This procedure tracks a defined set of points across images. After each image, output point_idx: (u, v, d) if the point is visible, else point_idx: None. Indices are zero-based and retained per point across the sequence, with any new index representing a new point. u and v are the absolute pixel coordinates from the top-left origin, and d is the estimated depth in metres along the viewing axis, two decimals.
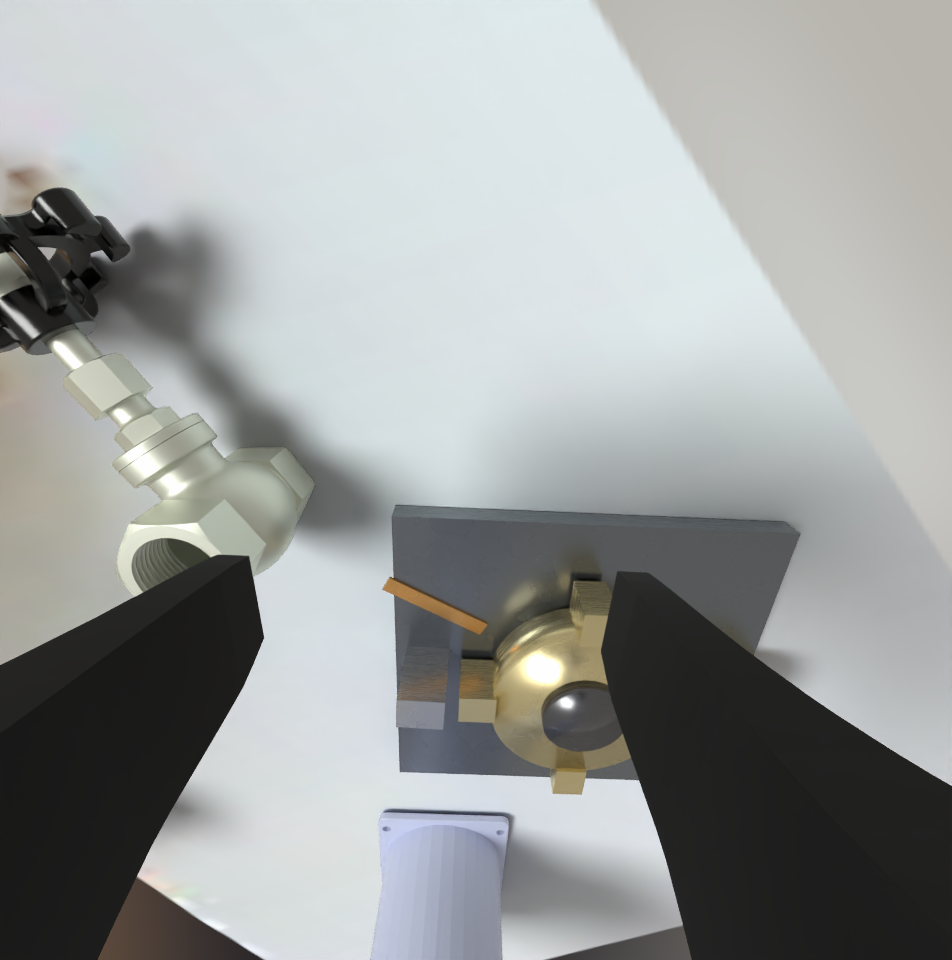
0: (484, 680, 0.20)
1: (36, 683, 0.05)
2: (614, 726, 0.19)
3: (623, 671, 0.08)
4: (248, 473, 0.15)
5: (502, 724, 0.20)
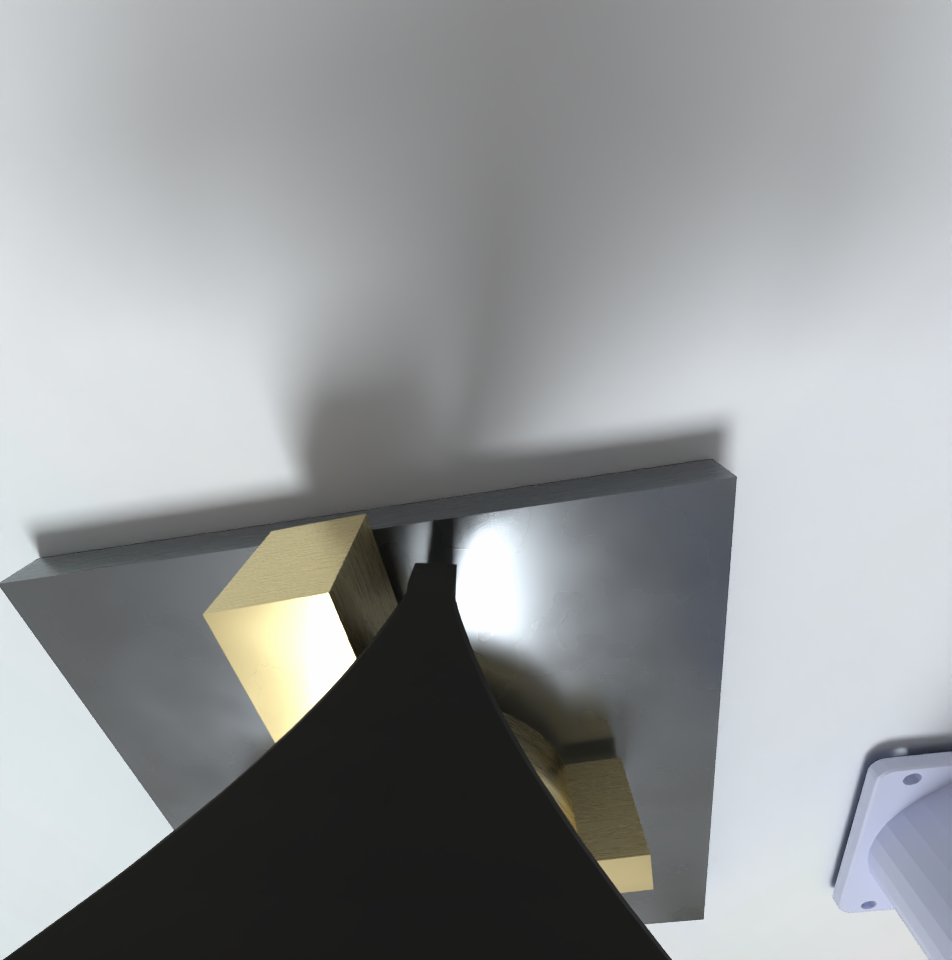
0: None
1: (398, 697, 0.05)
2: None
3: None
4: None
5: None
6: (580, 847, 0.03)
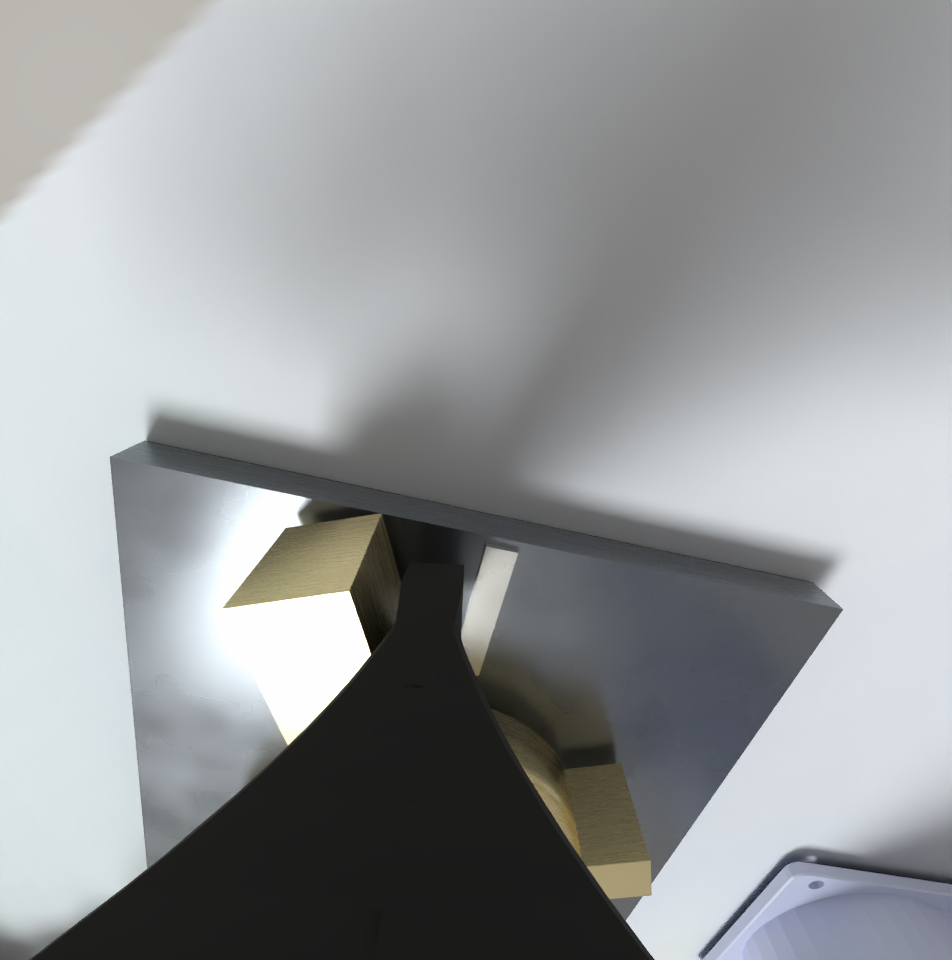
0: None
1: (411, 697, 0.05)
2: None
3: None
4: None
5: None
6: (565, 846, 0.03)
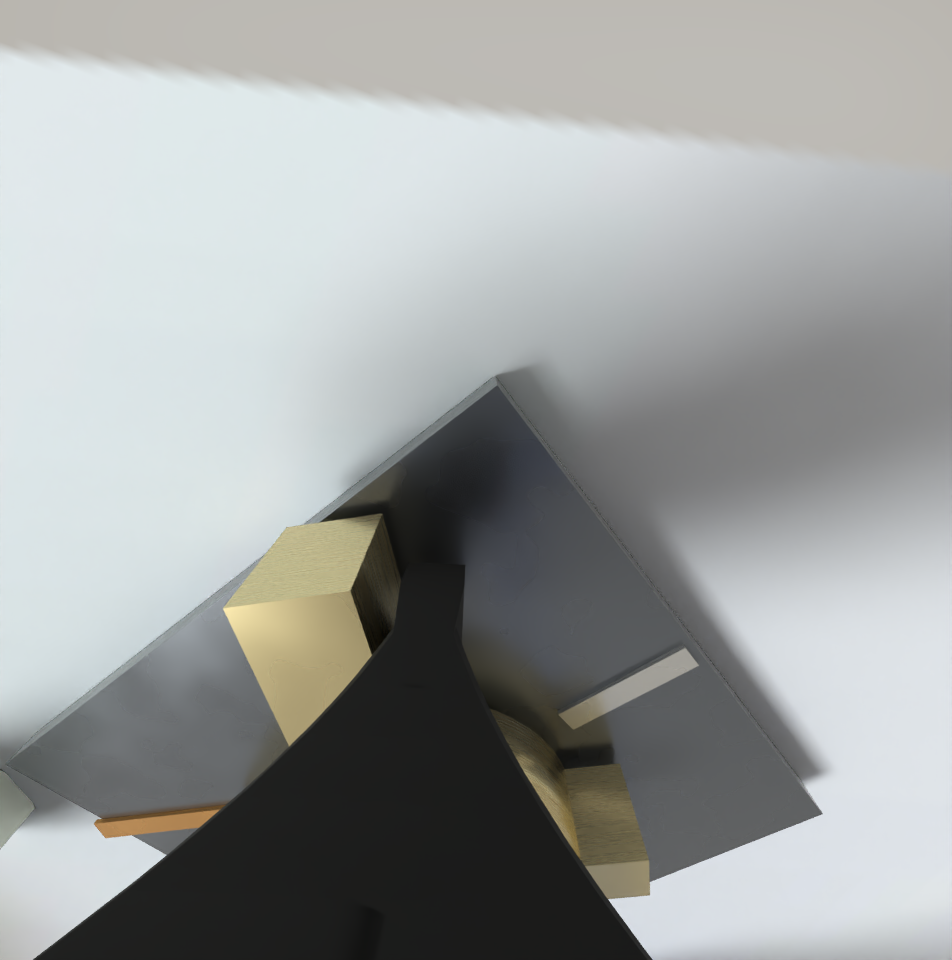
0: None
1: (413, 697, 0.05)
2: None
3: None
4: None
5: None
6: (564, 846, 0.03)
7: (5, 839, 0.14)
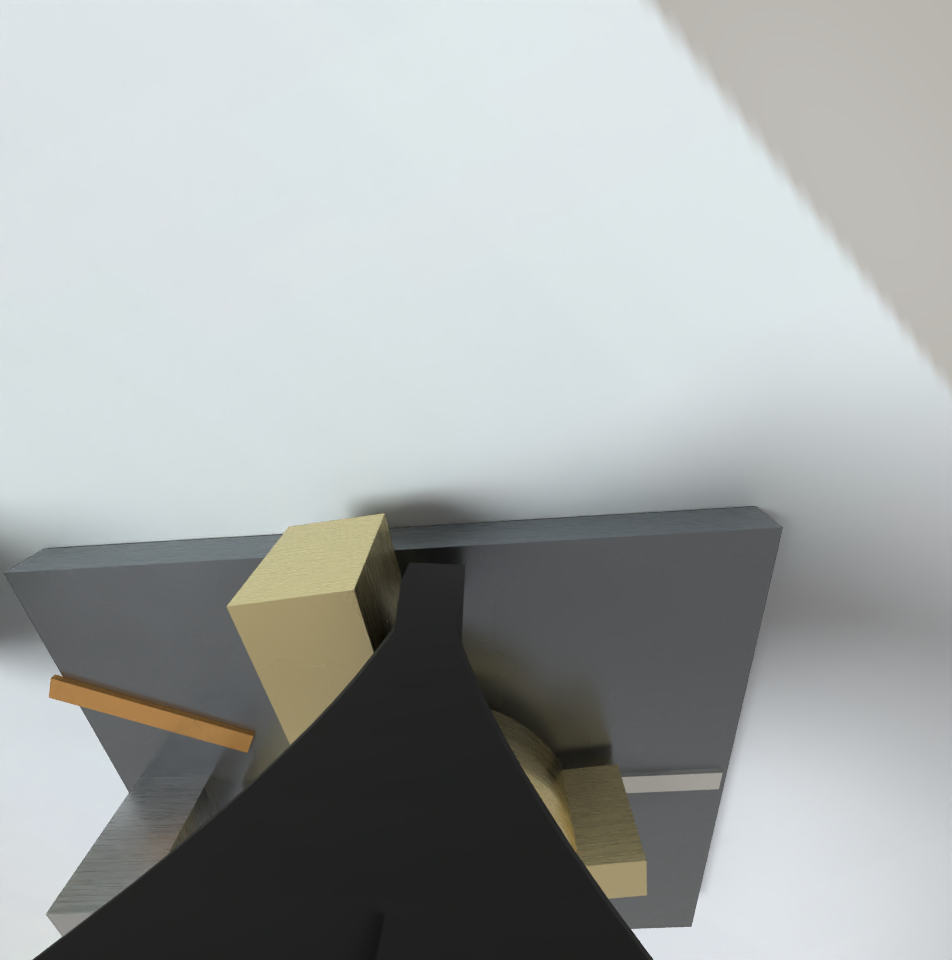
0: None
1: (412, 698, 0.05)
2: None
3: None
4: None
5: None
6: (564, 846, 0.03)
7: None
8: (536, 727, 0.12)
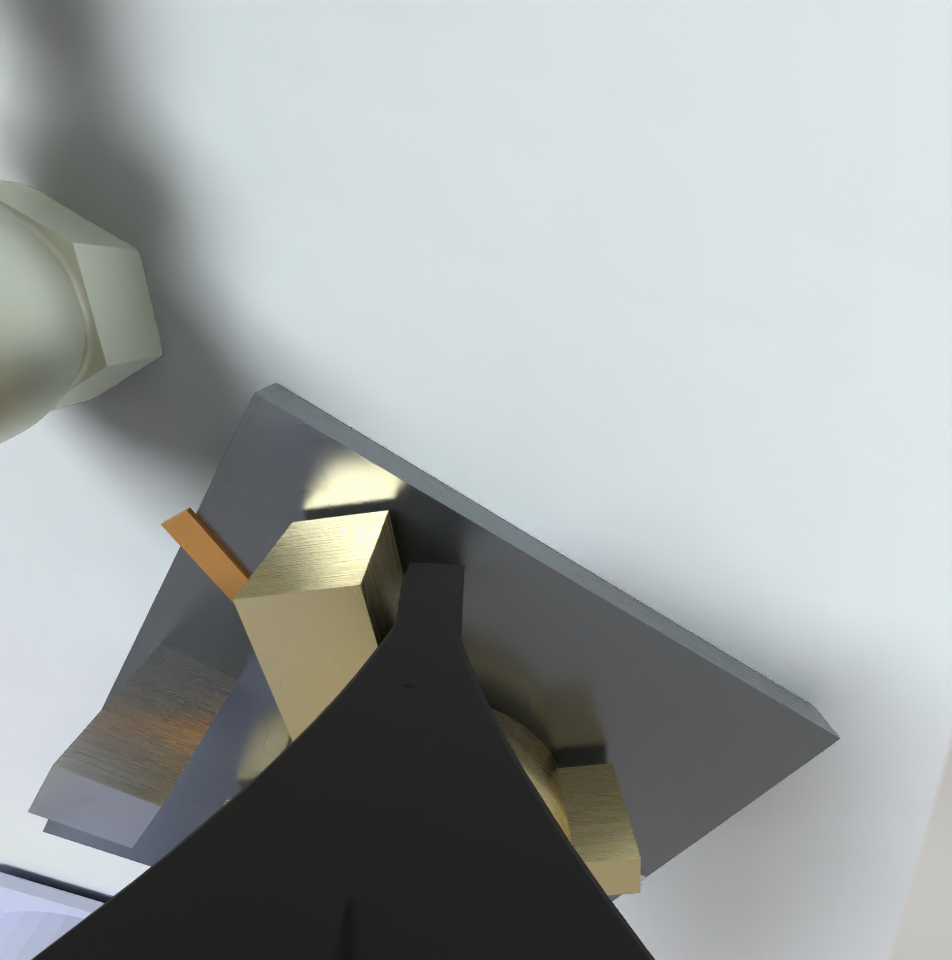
0: None
1: (412, 697, 0.05)
2: None
3: None
4: None
5: None
6: (566, 846, 0.03)
7: (58, 407, 0.09)
8: None
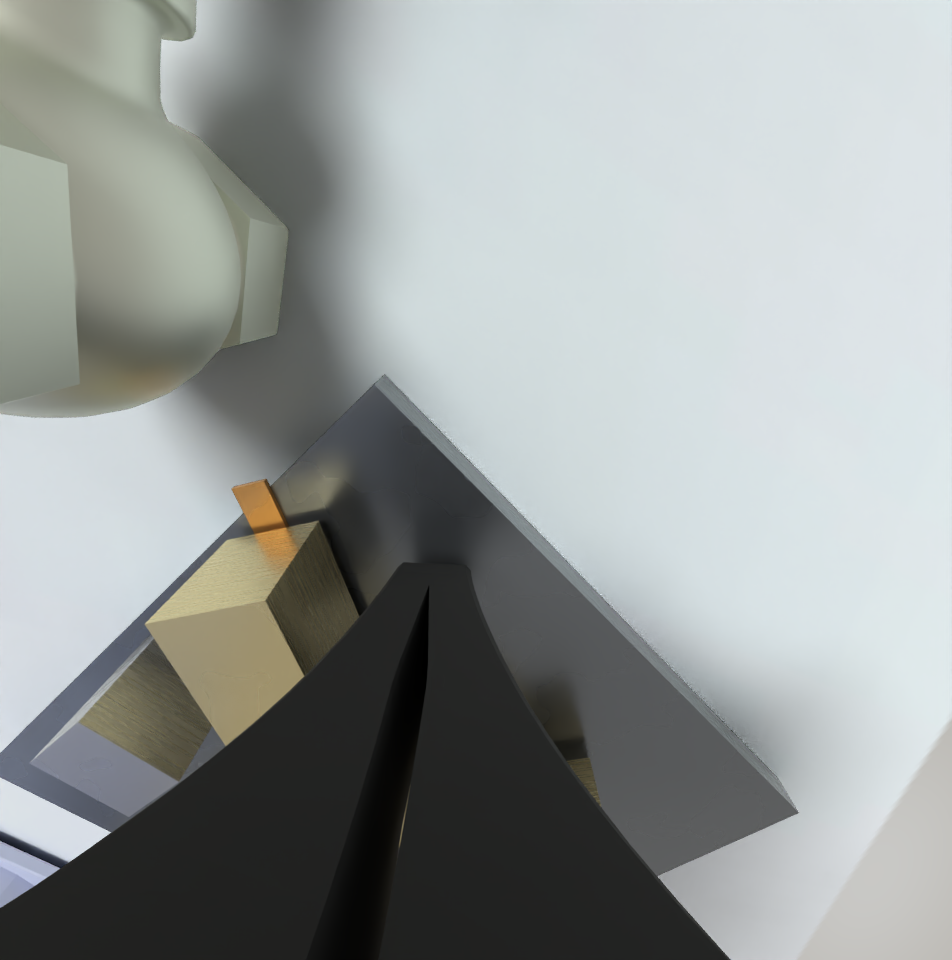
0: None
1: (359, 695, 0.05)
2: None
3: (428, 663, 0.08)
4: (193, 187, 0.05)
5: None
6: (628, 848, 0.03)
7: None
8: None
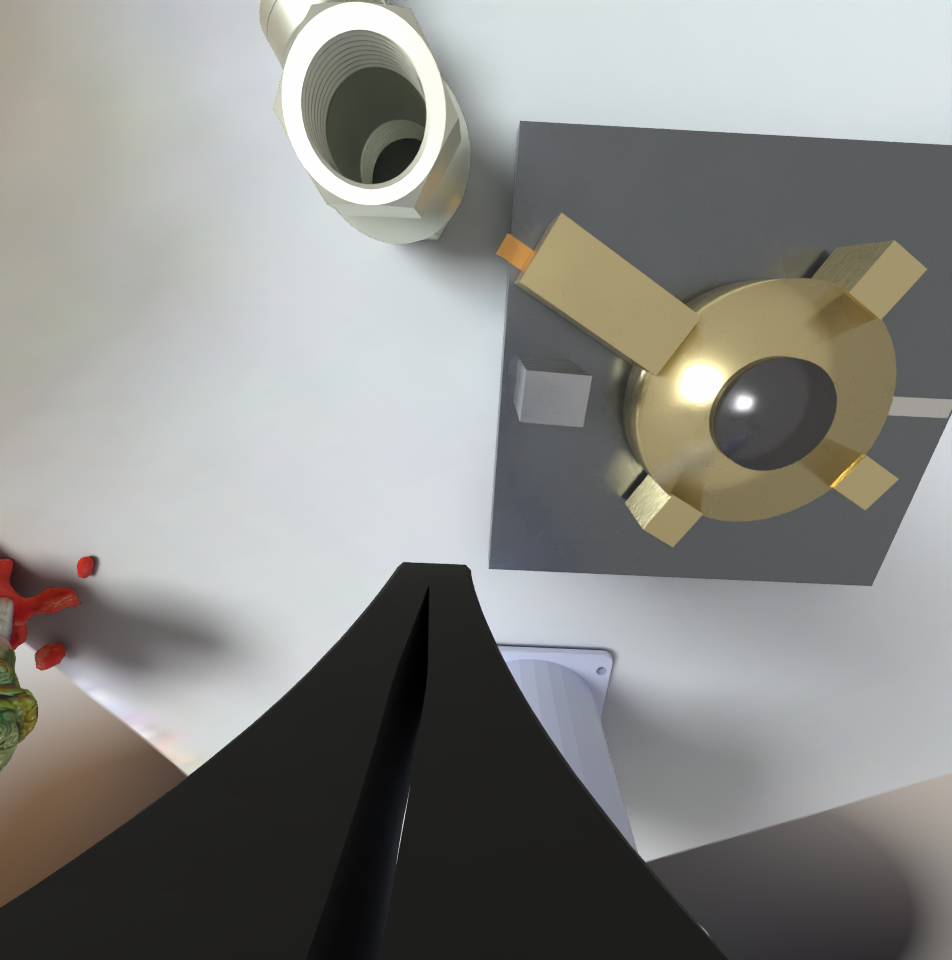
0: None
1: (359, 696, 0.05)
2: (750, 391, 0.14)
3: None
4: None
5: (862, 440, 0.15)
6: (629, 848, 0.03)
7: (437, 233, 0.15)
8: None
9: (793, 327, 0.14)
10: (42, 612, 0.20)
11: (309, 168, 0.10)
